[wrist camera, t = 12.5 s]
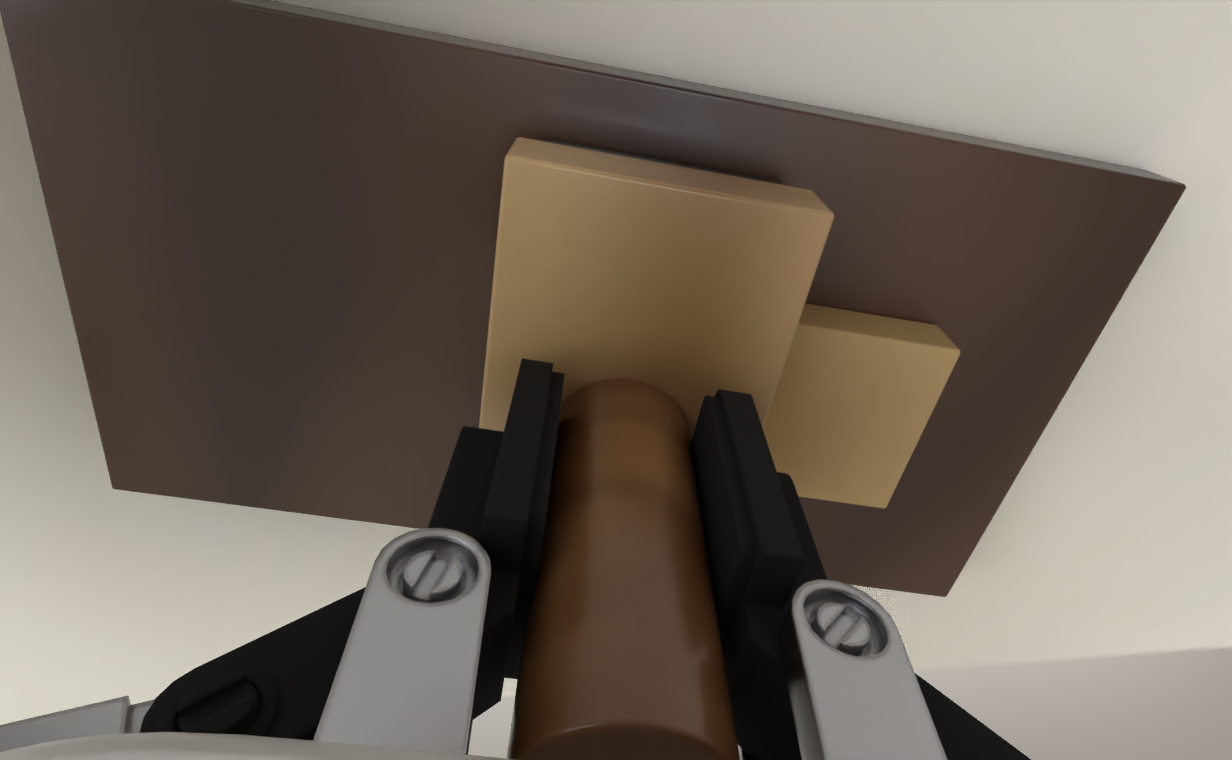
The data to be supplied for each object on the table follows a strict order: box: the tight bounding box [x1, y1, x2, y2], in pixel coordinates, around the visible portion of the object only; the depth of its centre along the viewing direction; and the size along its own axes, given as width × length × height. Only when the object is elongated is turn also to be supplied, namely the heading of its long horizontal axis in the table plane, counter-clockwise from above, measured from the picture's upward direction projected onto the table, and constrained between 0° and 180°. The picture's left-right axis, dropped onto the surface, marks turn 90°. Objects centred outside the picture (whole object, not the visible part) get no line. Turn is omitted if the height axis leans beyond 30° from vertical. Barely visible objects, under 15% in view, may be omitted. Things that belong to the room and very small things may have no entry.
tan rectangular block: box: [763, 303, 960, 508], centre depth 15 cm, size 4×4×1 cm
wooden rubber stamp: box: [479, 137, 834, 760], centre depth 11 cm, size 5×9×9 cm, turn 170°
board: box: [0, 0, 1186, 597], centre depth 15 cm, size 21×11×1 cm, turn 80°
